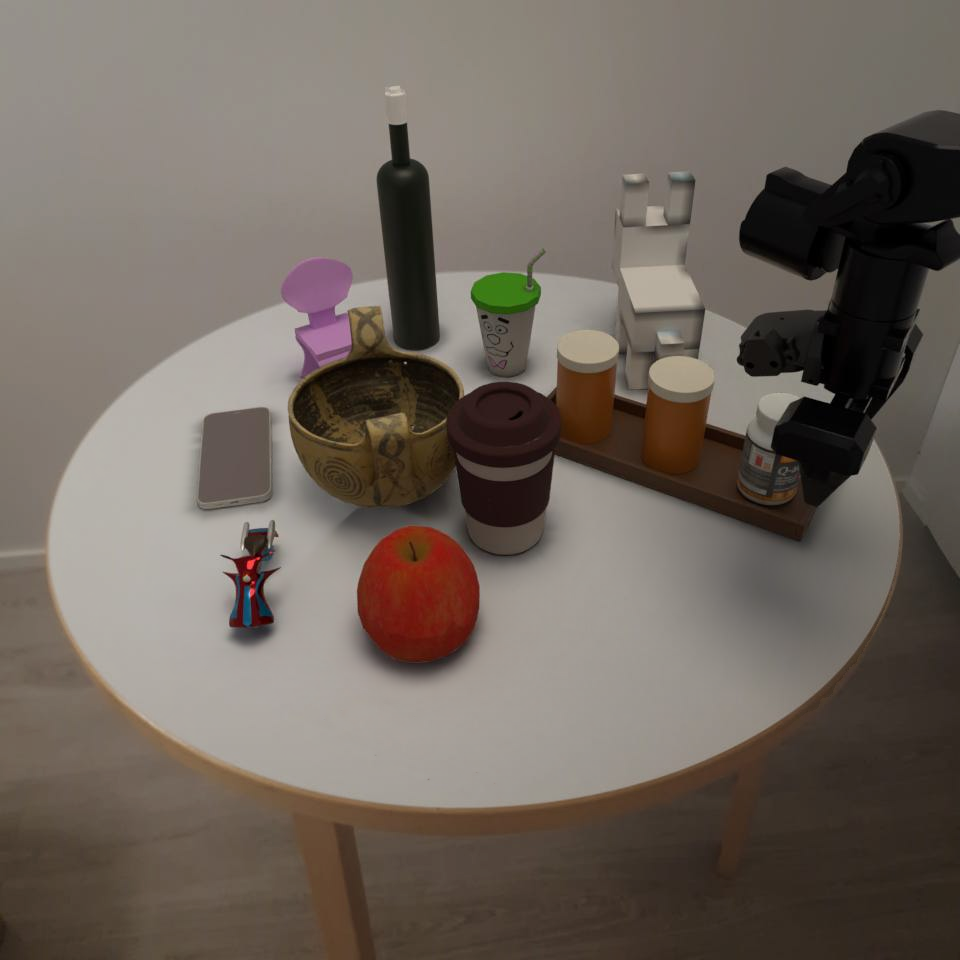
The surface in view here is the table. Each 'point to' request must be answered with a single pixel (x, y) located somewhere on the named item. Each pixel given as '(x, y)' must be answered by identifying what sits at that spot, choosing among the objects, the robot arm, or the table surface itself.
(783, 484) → the pill bottle
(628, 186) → the toy llama
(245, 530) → the hoverbike
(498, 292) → the cup
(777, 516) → the tray
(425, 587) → the apple
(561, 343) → the amber bottle far
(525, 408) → the coffee cup
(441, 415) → the ceramic bowl
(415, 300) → the wine bottle
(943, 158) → the robot arm
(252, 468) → the smartphone
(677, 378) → the amber bottle middle
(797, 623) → the table surface
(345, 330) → the toy chair
